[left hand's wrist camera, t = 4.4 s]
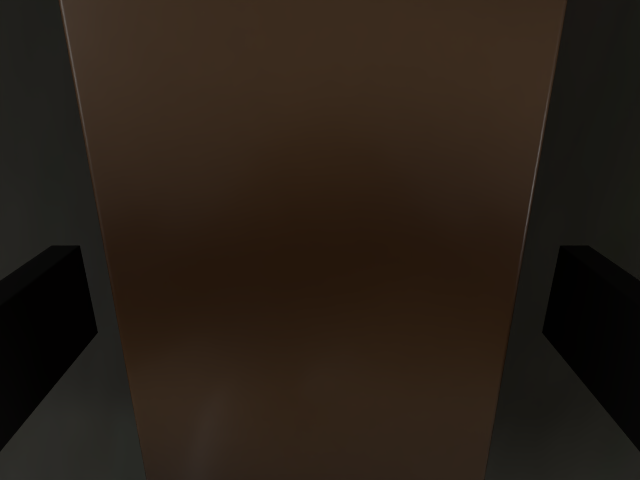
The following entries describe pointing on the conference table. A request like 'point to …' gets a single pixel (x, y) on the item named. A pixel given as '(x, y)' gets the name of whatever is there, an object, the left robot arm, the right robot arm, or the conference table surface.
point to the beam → (314, 223)
